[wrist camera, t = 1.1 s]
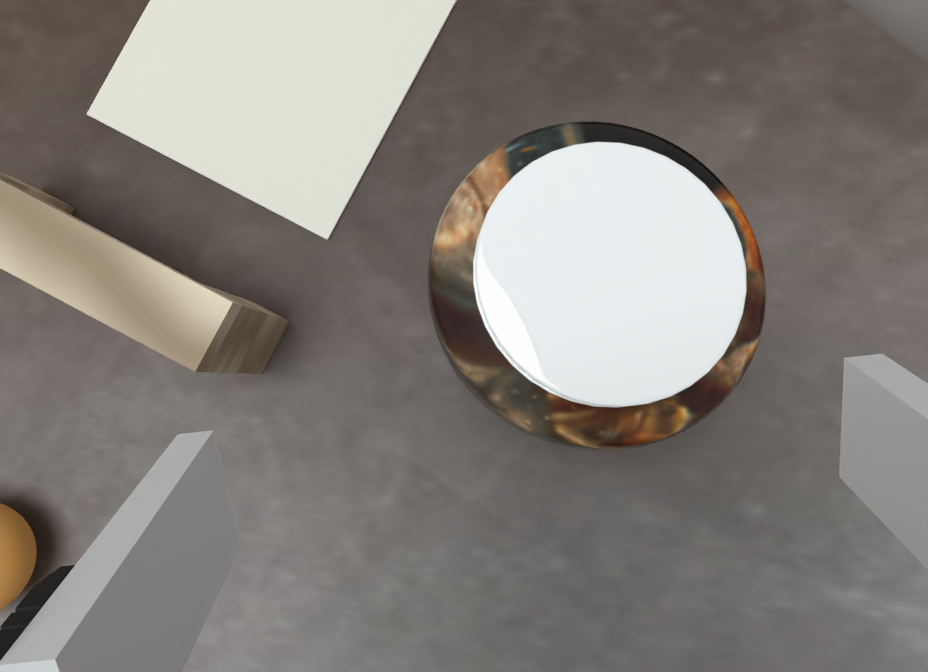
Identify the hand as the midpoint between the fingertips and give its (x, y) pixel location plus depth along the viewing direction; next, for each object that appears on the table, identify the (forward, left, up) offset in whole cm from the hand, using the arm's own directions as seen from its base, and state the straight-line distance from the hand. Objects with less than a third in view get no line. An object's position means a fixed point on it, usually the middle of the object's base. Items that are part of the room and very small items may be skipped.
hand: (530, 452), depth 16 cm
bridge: (-2, +19, -22) cm, 29 cm away
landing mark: (+11, +19, -22) cm, 31 cm away
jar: (+6, 0, -22) cm, 23 cm away
